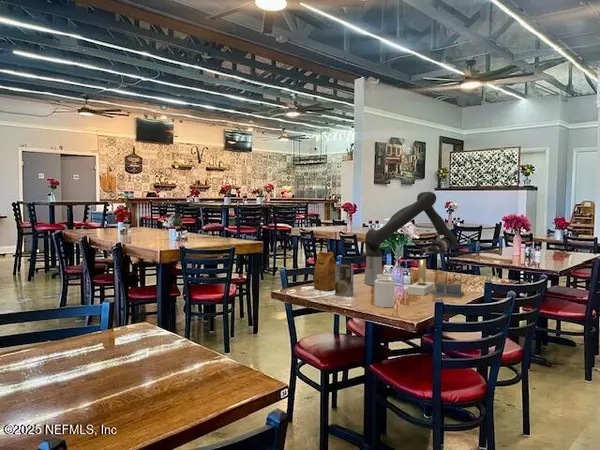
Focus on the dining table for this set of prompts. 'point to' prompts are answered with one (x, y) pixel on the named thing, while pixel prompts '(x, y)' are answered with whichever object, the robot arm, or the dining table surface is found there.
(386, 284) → the grey jar set
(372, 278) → the robot arm
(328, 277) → the coffee package
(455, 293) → the v block
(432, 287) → the grey recessed block
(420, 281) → the axle
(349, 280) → the coffee box
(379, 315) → the dining table surface
